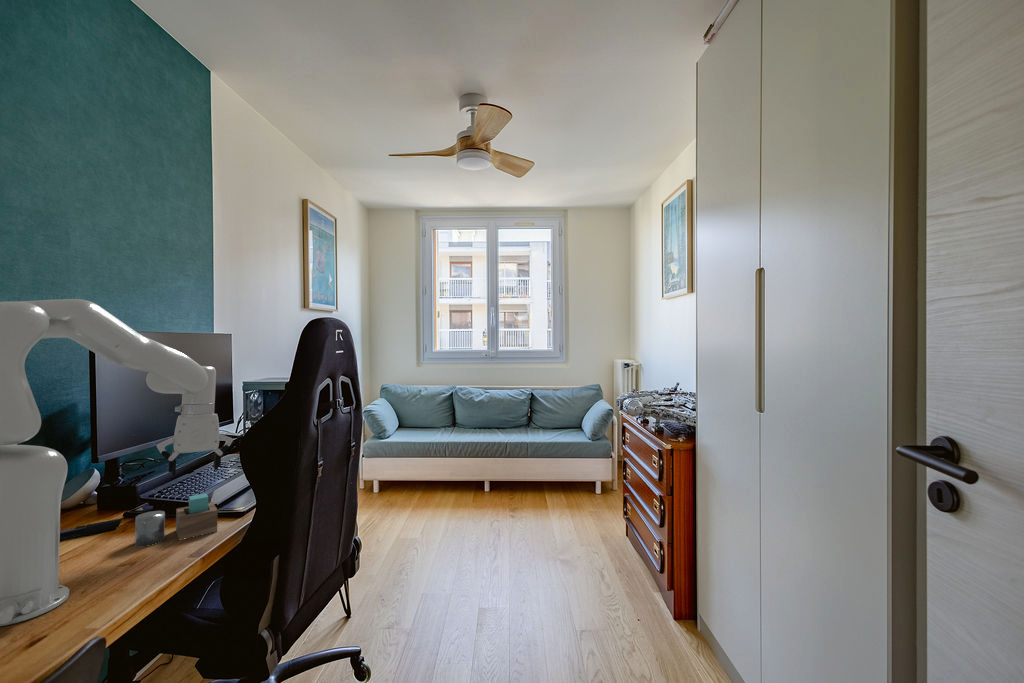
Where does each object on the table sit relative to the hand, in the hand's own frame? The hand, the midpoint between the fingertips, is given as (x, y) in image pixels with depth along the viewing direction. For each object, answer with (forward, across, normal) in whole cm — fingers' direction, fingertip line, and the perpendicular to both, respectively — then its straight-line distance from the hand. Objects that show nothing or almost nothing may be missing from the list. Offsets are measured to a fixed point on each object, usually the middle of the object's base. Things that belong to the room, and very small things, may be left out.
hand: (195, 471), depth 122 cm
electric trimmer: (+18, -22, +18) cm, 34 cm away
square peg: (+15, +1, +1) cm, 15 cm away
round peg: (+17, -9, +1) cm, 19 cm away
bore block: (+17, +1, +1) cm, 17 cm away
